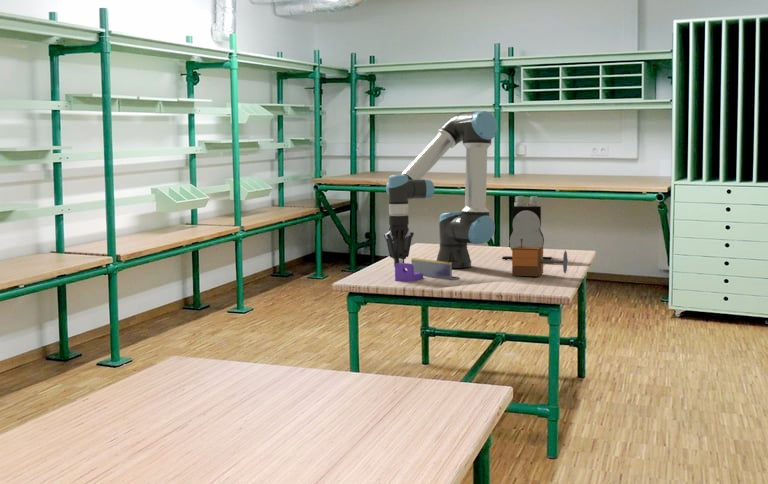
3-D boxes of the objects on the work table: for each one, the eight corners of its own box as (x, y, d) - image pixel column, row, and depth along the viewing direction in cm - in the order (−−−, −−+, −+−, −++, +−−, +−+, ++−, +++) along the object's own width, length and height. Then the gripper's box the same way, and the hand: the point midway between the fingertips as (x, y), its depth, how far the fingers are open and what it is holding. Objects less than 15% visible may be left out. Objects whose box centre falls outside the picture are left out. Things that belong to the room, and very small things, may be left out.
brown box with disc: (562, 277, 334) (562, 240, 333) (512, 275, 342) (512, 239, 340) (567, 274, 344) (568, 238, 342) (518, 272, 351) (518, 237, 350)
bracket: (411, 282, 325) (411, 264, 324) (395, 281, 327) (394, 263, 327) (423, 278, 336) (422, 261, 335) (406, 277, 338) (406, 260, 338)
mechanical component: (552, 260, 399) (553, 195, 396) (550, 264, 378) (551, 196, 376) (505, 259, 404) (505, 195, 401) (501, 264, 383) (501, 196, 381)
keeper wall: (421, 273, 350) (421, 257, 350) (459, 278, 331) (459, 261, 330) (411, 274, 348) (411, 258, 347) (449, 279, 328) (449, 262, 328)
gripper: (406, 214, 338) (406, 273, 340) (379, 215, 330) (380, 276, 332) (418, 214, 332) (418, 275, 333) (390, 216, 324) (391, 278, 326)
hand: (399, 275), depth 333 cm, fingers closed
